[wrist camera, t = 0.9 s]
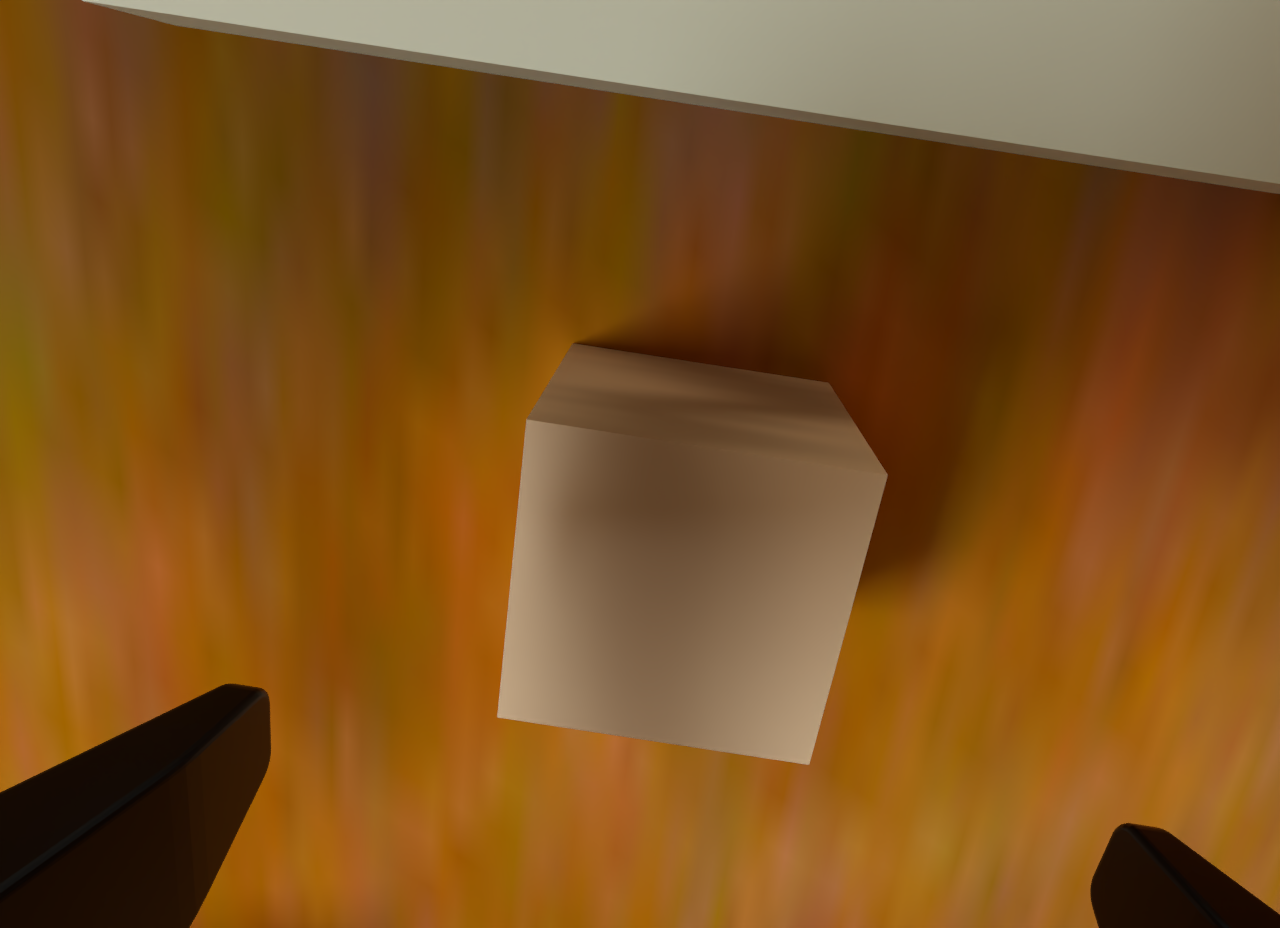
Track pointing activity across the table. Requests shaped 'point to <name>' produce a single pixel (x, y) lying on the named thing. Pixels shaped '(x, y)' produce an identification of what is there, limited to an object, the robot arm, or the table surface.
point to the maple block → (685, 553)
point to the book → (862, 65)
